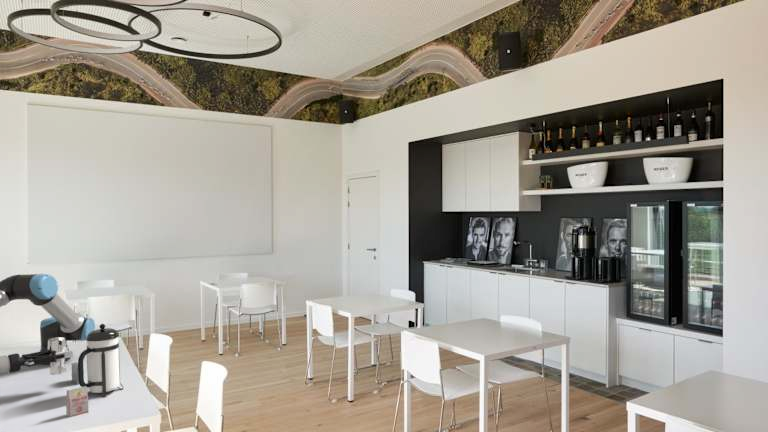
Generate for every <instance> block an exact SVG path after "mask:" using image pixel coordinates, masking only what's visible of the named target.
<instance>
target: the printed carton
mask: <svg viewBox="0 0 768 432" xmlns="http://www.w3.org/2000/svg"><path fill="white" fill-rule="evenodd" d="M87 389H88V388H87V386H85V387H81V386H80V387H78V388H76V387H75V388H73V389H68V390H66V398H65V407H66V408H65V409H66V411H65V413H66V416H67V417H68V418H72V417H76V416H79V415H83V414H87V413H89V412H90V411H89V395H88V390H87Z"/></svg>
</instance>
